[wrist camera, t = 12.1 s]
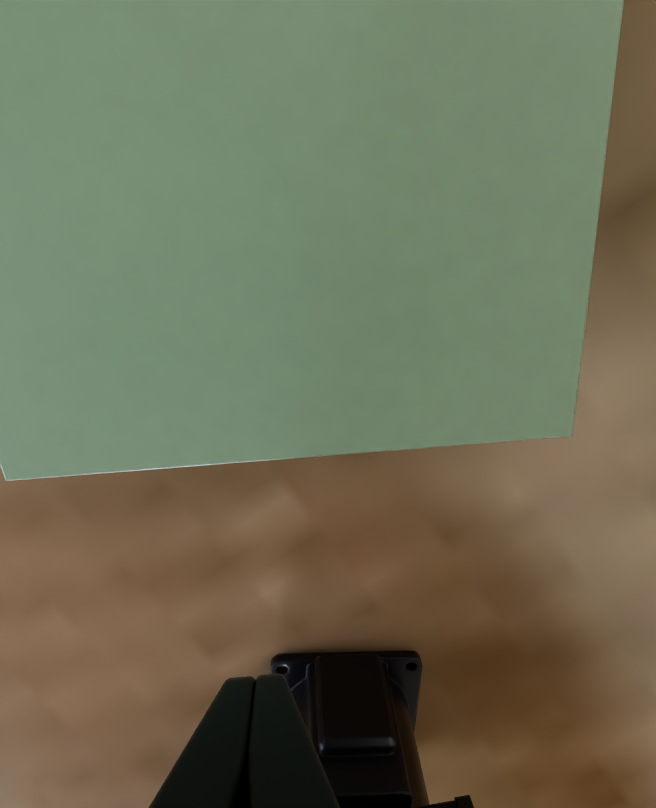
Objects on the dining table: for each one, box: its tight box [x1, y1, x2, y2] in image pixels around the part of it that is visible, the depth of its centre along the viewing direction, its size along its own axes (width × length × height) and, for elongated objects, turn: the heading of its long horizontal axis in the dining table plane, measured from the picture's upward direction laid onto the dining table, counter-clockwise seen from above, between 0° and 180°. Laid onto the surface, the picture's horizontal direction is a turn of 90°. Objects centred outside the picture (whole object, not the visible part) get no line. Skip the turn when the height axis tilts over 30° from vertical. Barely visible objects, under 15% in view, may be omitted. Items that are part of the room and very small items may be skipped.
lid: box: [0, 0, 624, 481], centre depth 12 cm, size 14×14×1 cm
